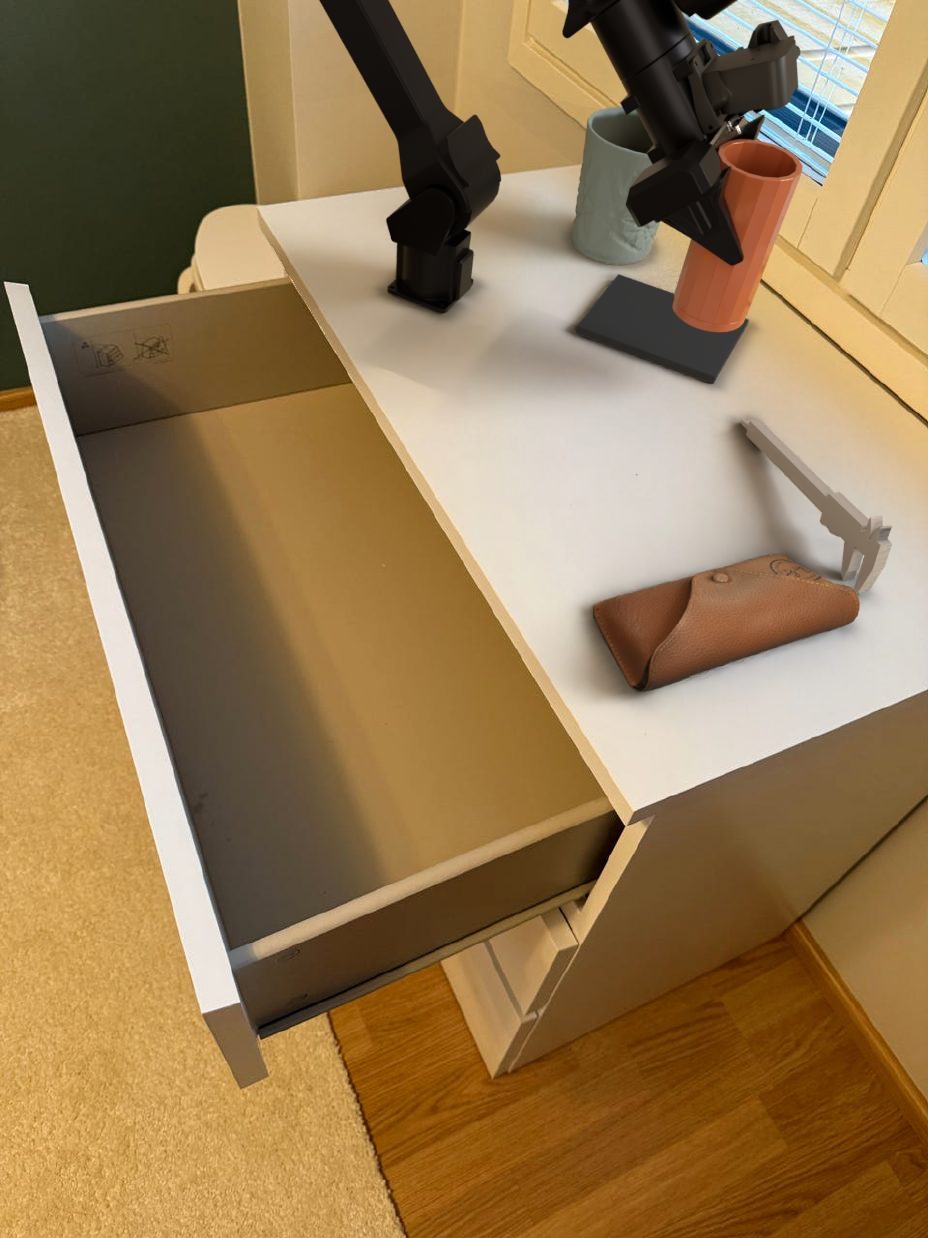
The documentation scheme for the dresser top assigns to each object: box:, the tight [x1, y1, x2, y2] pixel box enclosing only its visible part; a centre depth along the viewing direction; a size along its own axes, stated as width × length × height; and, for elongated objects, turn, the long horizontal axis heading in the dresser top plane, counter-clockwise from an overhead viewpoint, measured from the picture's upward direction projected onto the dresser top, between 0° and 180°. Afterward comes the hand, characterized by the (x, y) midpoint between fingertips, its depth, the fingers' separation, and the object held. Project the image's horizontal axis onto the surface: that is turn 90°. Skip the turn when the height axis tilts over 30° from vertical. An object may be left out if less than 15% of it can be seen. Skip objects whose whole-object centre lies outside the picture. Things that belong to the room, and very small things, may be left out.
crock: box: [672, 139, 803, 332], centre depth 75 cm, size 6×6×13 cm
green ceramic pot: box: [571, 106, 661, 266], centre depth 95 cm, size 10×10×12 cm
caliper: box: [740, 418, 893, 594], centre depth 74 cm, size 20×1×6 cm, turn 15°
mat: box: [575, 274, 750, 384], centre depth 90 cm, size 14×11×1 cm
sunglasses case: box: [592, 553, 861, 693], centre depth 66 cm, size 18×7×7 cm
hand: (748, 243), depth 75 cm, fingers closed on crock, 6 cm apart
